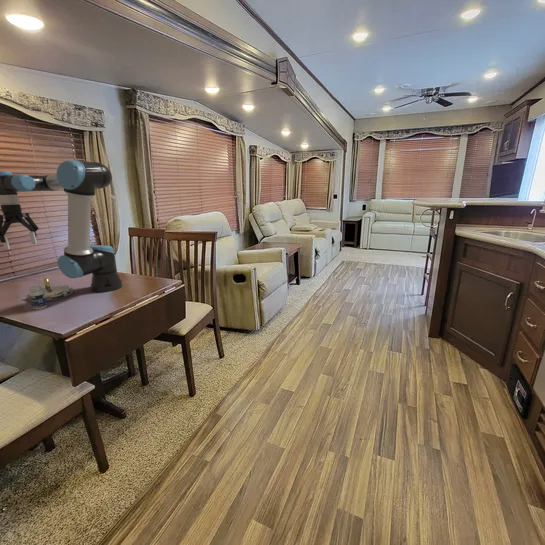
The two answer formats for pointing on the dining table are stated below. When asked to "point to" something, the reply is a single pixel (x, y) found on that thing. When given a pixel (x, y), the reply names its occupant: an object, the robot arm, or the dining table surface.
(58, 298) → the base plate
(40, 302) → the pill bottle
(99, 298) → the dining table surface
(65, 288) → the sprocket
